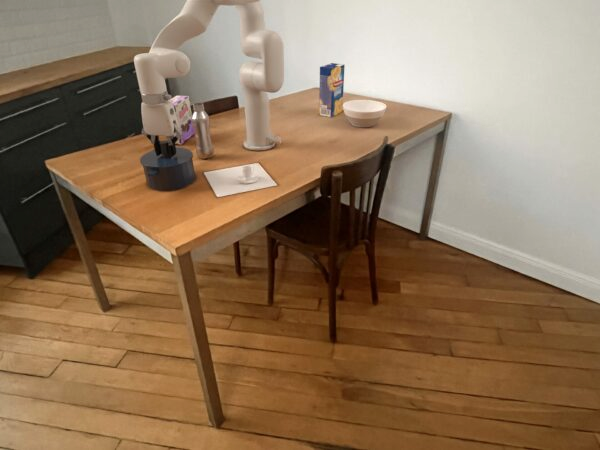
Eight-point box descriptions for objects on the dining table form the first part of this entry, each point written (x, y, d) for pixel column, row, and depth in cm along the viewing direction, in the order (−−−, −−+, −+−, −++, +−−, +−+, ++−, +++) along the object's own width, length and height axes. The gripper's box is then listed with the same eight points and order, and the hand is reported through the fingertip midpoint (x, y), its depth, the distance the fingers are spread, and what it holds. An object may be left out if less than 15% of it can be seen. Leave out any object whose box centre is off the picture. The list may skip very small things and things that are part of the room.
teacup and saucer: (237, 186, 132) (236, 175, 130) (231, 177, 138) (229, 166, 136) (263, 181, 135) (262, 170, 132) (255, 172, 141) (254, 161, 139)
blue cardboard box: (342, 111, 200) (344, 64, 189) (331, 117, 193) (332, 68, 181) (330, 109, 204) (331, 63, 192) (319, 114, 196) (319, 67, 184)
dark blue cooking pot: (206, 169, 143) (202, 148, 139) (177, 197, 126) (173, 173, 122) (166, 165, 147) (161, 144, 142) (133, 192, 129) (127, 169, 125)
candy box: (181, 145, 164) (174, 104, 155) (168, 144, 165) (160, 103, 156) (195, 133, 175) (189, 95, 166) (182, 133, 176) (176, 94, 167)
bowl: (365, 134, 173) (366, 114, 168) (332, 123, 185) (333, 105, 181) (393, 124, 183) (395, 105, 179) (361, 114, 196) (362, 97, 191)
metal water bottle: (217, 154, 155) (211, 102, 144) (208, 161, 149) (201, 107, 139) (203, 152, 157) (195, 100, 146) (193, 159, 151) (185, 105, 141)
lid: (201, 152, 138) (199, 134, 134) (178, 172, 124) (174, 153, 121) (157, 148, 141) (154, 131, 138) (130, 168, 127) (125, 149, 124)
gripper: (186, 96, 123) (195, 152, 133) (137, 93, 127) (149, 148, 136) (174, 102, 117) (184, 161, 127) (123, 99, 120) (136, 157, 130)
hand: (166, 154), depth 131 cm, fingers open, 4 cm apart
